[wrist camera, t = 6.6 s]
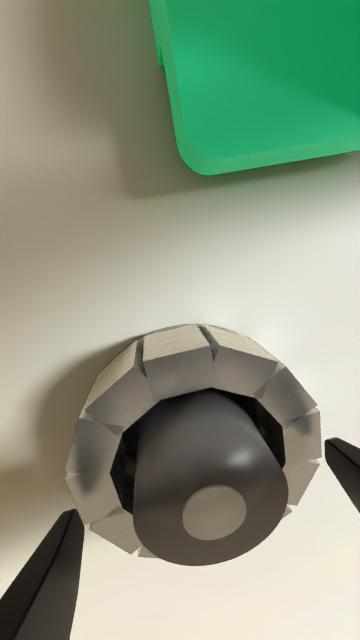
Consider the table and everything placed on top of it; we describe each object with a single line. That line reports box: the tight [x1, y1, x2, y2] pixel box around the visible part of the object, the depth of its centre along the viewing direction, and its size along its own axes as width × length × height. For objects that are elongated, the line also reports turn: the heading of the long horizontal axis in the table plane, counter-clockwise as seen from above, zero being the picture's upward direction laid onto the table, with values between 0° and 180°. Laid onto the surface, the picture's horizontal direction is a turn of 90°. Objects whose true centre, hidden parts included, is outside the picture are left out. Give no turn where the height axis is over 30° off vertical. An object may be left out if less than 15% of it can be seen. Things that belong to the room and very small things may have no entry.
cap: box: [133, 387, 289, 566], centre depth 9 cm, size 5×5×4 cm
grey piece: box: [64, 324, 322, 558], centre depth 10 cm, size 10×10×3 cm
